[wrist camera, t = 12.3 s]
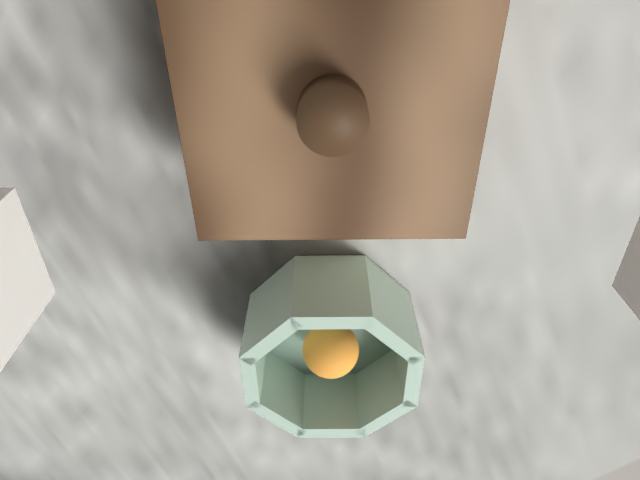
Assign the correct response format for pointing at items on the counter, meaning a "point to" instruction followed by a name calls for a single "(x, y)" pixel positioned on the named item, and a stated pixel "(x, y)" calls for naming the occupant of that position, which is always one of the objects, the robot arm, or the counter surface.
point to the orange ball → (330, 352)
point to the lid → (332, 114)
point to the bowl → (331, 313)
